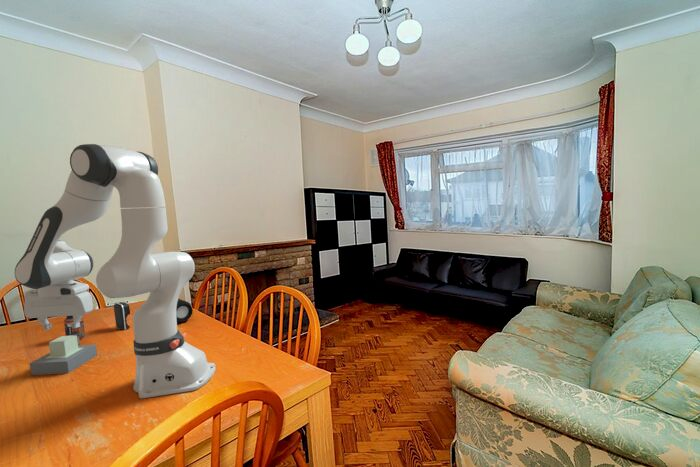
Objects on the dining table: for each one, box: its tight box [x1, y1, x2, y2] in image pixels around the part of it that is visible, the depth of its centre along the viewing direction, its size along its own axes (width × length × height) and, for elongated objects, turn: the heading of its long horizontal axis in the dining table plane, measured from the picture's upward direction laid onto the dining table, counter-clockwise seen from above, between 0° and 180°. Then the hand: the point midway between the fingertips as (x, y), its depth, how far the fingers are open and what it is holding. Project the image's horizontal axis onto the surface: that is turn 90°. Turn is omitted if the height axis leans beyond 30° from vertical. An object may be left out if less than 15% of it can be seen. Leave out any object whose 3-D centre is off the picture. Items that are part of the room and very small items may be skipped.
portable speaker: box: [176, 298, 194, 324], centre depth 150 cm, size 26×10×10 cm, turn 51°
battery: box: [113, 301, 131, 331], centre depth 139 cm, size 7×4×11 cm, turn 59°
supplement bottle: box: [63, 316, 86, 341], centre depth 129 cm, size 6×6×11 cm
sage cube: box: [48, 335, 78, 357], centre depth 107 cm, size 5×5×5 cm
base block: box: [29, 344, 98, 376], centre depth 108 cm, size 12×12×4 cm
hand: (61, 328), depth 106 cm, fingers open, 8 cm apart
